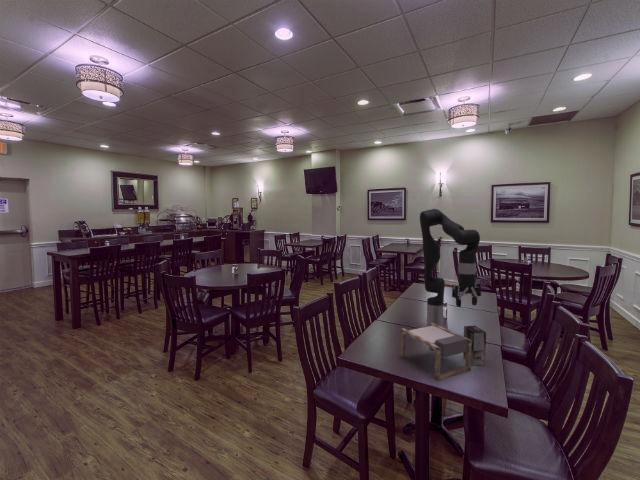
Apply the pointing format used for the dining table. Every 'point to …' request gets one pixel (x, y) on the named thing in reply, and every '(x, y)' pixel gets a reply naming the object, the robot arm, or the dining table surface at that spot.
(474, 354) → the coffee box
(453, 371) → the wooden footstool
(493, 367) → the dining table surface
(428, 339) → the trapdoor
